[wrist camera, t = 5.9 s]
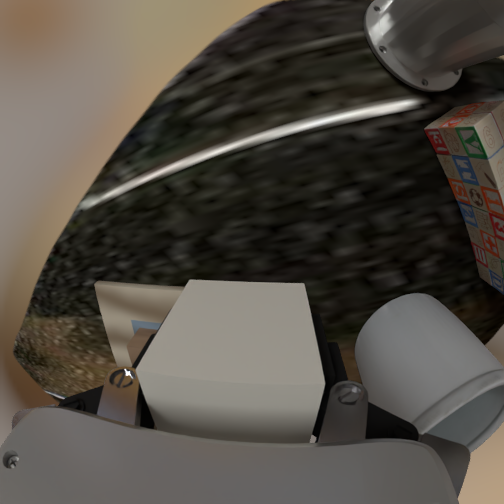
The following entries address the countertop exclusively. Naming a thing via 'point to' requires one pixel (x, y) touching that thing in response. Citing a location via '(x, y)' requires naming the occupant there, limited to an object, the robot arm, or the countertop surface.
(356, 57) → the countertop surface
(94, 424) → the robot arm
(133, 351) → the walnut foundation
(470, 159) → the stack of blocks
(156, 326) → the board
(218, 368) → the cream block
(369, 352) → the utensil holder
